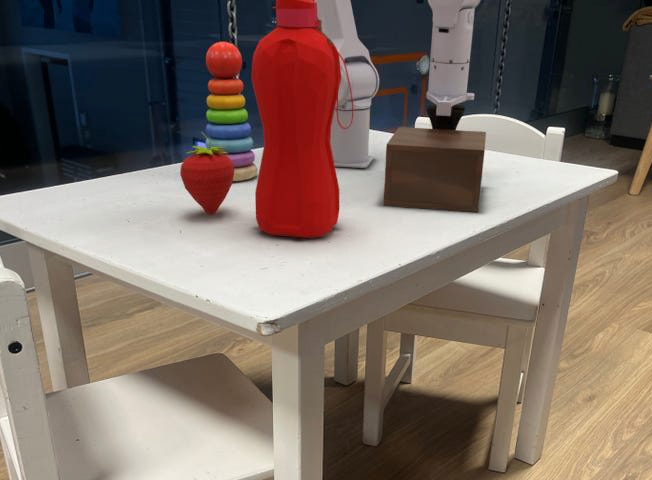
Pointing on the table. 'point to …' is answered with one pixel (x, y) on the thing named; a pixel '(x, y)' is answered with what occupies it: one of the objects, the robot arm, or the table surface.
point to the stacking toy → (229, 110)
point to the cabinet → (434, 169)
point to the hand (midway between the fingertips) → (441, 155)
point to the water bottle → (297, 123)
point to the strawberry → (208, 176)
